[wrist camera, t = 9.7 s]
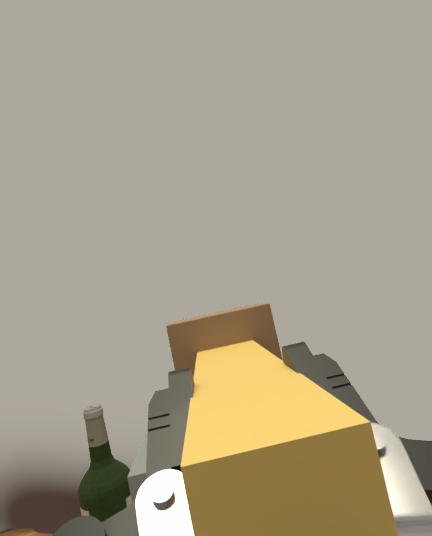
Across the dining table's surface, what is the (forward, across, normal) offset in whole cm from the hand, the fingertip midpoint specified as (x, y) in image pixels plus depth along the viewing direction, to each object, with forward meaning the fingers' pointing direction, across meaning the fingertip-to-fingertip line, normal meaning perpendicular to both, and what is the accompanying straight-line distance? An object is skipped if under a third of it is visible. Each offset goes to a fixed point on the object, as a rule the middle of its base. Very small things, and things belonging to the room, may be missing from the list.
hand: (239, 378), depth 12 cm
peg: (+2, 0, +5) cm, 5 cm away
